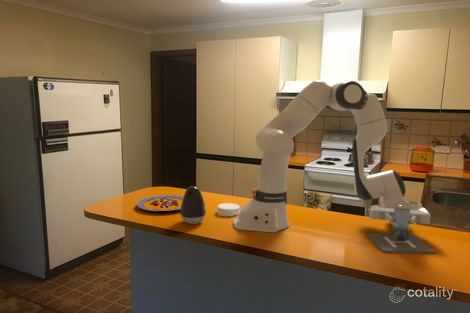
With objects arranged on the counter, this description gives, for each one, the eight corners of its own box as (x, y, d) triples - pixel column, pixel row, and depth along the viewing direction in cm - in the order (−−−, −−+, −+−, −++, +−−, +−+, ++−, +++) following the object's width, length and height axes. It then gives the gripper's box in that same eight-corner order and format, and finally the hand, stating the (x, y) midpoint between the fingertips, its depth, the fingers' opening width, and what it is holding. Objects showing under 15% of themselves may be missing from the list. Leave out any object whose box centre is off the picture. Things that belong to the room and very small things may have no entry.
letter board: (383, 252, 120) (383, 250, 120) (367, 235, 135) (367, 233, 135) (434, 253, 120) (434, 251, 120) (413, 236, 135) (413, 234, 135)
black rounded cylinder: (176, 225, 145) (175, 188, 143) (187, 217, 155) (186, 182, 152) (199, 228, 142) (199, 190, 140) (209, 219, 152) (209, 184, 149)
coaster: (229, 218, 154) (229, 210, 153) (212, 213, 160) (212, 206, 160) (244, 213, 162) (244, 205, 161) (227, 208, 168) (227, 201, 167)
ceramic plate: (125, 207, 168) (125, 201, 167) (167, 196, 188) (167, 190, 188) (163, 219, 153) (163, 212, 152) (204, 205, 173) (204, 199, 172)
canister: (395, 240, 125) (398, 207, 123) (389, 235, 130) (392, 203, 128) (410, 240, 125) (413, 207, 123) (403, 235, 130) (406, 203, 128)
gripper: (367, 199, 141) (370, 209, 128) (425, 203, 135) (434, 215, 122) (366, 214, 142) (369, 226, 129) (424, 220, 136) (433, 232, 123)
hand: (401, 221), depth 126 cm, fingers closed on canister, 5 cm apart
